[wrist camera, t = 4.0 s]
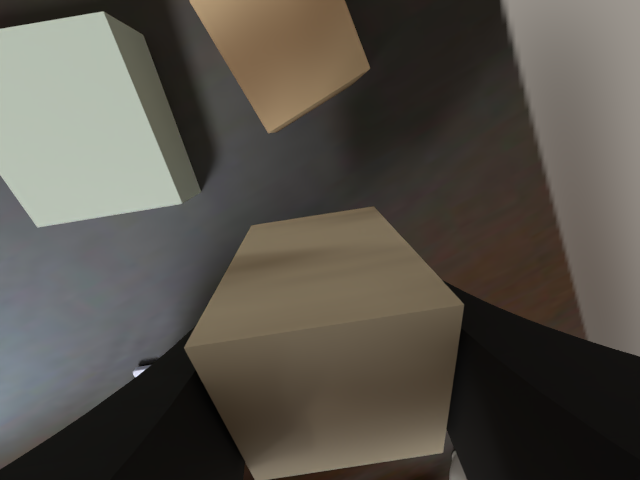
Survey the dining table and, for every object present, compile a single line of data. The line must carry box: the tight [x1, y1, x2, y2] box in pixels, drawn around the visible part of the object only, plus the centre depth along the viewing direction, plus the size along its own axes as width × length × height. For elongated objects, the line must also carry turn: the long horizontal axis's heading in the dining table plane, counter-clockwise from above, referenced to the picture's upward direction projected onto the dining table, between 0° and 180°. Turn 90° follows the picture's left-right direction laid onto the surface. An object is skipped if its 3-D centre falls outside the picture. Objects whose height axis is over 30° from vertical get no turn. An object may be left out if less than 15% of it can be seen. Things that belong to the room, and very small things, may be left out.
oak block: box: [189, 0, 370, 133], centre depth 11 cm, size 5×5×4 cm
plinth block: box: [0, 11, 201, 227], centre depth 13 cm, size 8×8×3 cm
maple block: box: [184, 206, 464, 480], centre depth 8 cm, size 5×5×6 cm
